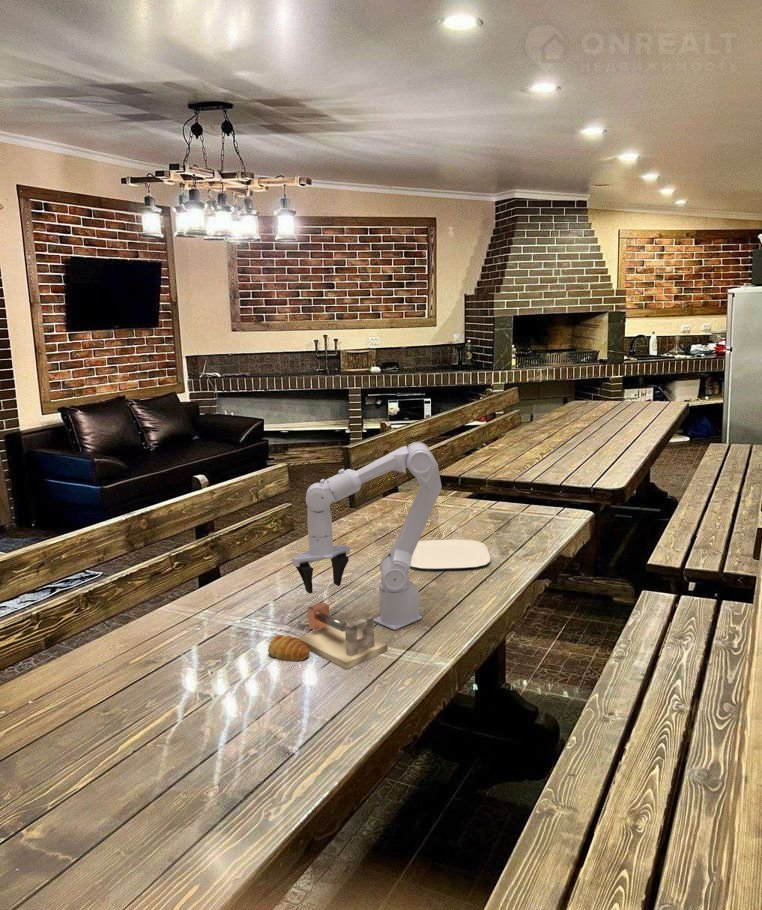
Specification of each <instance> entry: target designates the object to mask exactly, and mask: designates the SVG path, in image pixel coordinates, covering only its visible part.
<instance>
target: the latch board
mask: <svg viewBox="0 0 762 910" xmlns="http://www.w3.org/2000/svg"><path fill="white" fill-rule="evenodd" d="M373 619H374V617H371V616H369V615H367V616H365V617H363V618H362V617H361V618H360V619H358V620H355V621H353V622H350V623H348V624H347V625H345V631H343V632H342V631H340V630H338V629H336V628H333V627H331V626H329V625H326V626H324V627H321V628H319V629H316V630H314V631H311V632H308V633H306V634H304V635H301V636H298V637H296V638H297V639H298V640H300V641H302V643H304V644H306V646H307V647H308V648H309V649H310V652H311V653H314V654H316V655H318V656H320V657H321V658H324V659H326V660H327V661H330V662H332V663H333V664H336V665H337V666H338V667H339V666H340V667H341V668H343V669H345V670H348V669H351V668H352V667H354V666H357V665H359V664H361V663H364V662H365V661H368V660H370V659H372V658H375V657H377V656H379V655H381V654H382V653H385V652H387V651H388V644H387V643H385V642H383V641H381V640H379V639H376V638H375V629H374V624H375V622H374V621H373Z"/></svg>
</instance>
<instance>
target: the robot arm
mask: <svg viewBox="0 0 762 910" xmlns="http://www.w3.org/2000/svg"><path fill="white" fill-rule="evenodd" d="M406 469H408V471H409V472H410V473H411V474H412V475H413V477H415V478H416V480H417V483H418V485H419V486H418V487H419V488H418V490H417V492H416V494H415V497H414V499H413V501H412V504H411V506H410V508H409V510H408V513H407V515H406V518H405V519H404V522H403V524H402V526H401V529H400V531H399V534H398V536H397V538H396V539H395V543H394V544H393V545H392V546H391V548H390V550H389V551H388V553H387V554H386V556H384V557H383V558H382V559H381V561H380V563H379V570H380V574H381V578H380V579H381V581H380V582H379V585H378V588H379V589H378V590H379V613H380V614H379V616H377V617H373V622H374V623H376V624H379V625H382V626H384V627H386V628H387V629H391V630H393V631H396V630H399V629H401V628H403V627H407V625H410V624H412V623H415V622H417V621H419V620H421V619H422V618H423V616H422V615H420V593H419V589H418V587H417V585H416V584H415V583H414V582H412V581H411V580H409V571H410V568H411V566H410V565H411V560H412V555H413V553H414V550H415V548H416V546H417V543H418V541H420V539H421V537H422V534H423V532H424V530H425V527H426V525H427V523H428V521H429V518H430V516H431V514H432V511H433V509H434V508H435V504H436V502H437V500H438V498H439V495H440V494H441V491H442V486H443V485H442V482H441V477H440V471H439V464H438V462H437V460H436V459H435V457H434V454H433V453H432V451H431V450H430V448H429V446H428V445H427V444H426V443H424V442H422V441H421V442H420V441H414V442H412V443H410V444H408V445H407V446H406V445H404V446H401V447H399V448H397V449H395V450H393V451H391V452H389V453H388V454H386V455H384V456H382V457H380V458H378V459H376V460H374V461H372V462H371V463H369V464H367V465H365V466H363V467H361V468H359V469H357V470H355V469H350V468H347V469H345V468H341V469H339V470H338V473H337V474H335V475H333V476H331V477H328V478H326V479H325V478H322V479H320V480H319V482H313V484H311V485H310V486H309V487H308V488H307V490H306V494H305V503H306V505H307V509H306V512H307V518H306V520H307V521H306V522H307V537H308V551H305V552H302V553H300V554H298V555H295V556H291V561H292V565H293V566H294V567H295V568H296V570H297V572H298V574H299V576H300V578H301V579H302V582H303V585H304V588H305V591H306V593H308V594H313V573H314V568H313V567H311V563H314V562H319V561H322V560H330V561H331V566H332V577H333V578H332V579H333V580H332V581H333V584H334V585H336V586H337V587H340V586H341V584H342V578H343V574H344V571H345V569H346V567H347V565H348V563H349V560H350V559H349V556H348V555H351V549H350V548H351V547H350V546H349V545H347V544H343V545H334V539H333V538H334V537H333V536H334V535H333V520H332V513H331V504H332V503H337V502H338V501H341V500H343V499H344V498H347V497H349V496H352V495H354V494H356V493H358V492H360V489H361V487H362V485H363V484H364V483H367V482H369V481H371V480H373V479H376V478H379V477H381V476H382V475H383V476H384V475H385V474H388V473H390V472H392V471H394V472H399V473H404V474H406V473H407V470H406Z"/></svg>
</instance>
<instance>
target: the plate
mask: <svg viewBox="0 0 762 910" xmlns="http://www.w3.org/2000/svg"><path fill="white" fill-rule="evenodd" d="M489 563H491V554H490V551H489V549H488V547H487V546H486V544H484V543H483V542H481V541H479V540H473V539H457V538H456V539H431V540H429V539H428V540H419V541H418V543H417V546H416V548H415V550H414V553H413V555H412V560H411V565H410V568H413V569H419V570H457V569H458V570H461V569H462V570H463V569H475V568H481V567H483V566H488V564H489Z"/></svg>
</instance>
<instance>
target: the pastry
mask: <svg viewBox="0 0 762 910" xmlns="http://www.w3.org/2000/svg"><path fill="white" fill-rule="evenodd" d="M297 638H298V637H295V636H294V637H292V635H286V636H284V635H282V634H278V635H275V636H273V638H272V640H271V641H270V643H269V645H268V648H267V651H268V653H269V654H270V656H271V657H272V658H276V659H277V660H284V661H290V662H297V661H304V660H306V658H309V655H310V652H311V651H310V649H309V648H308V647H307V646H306V644H304V643H302V641H300V640H298V639H297Z"/></svg>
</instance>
